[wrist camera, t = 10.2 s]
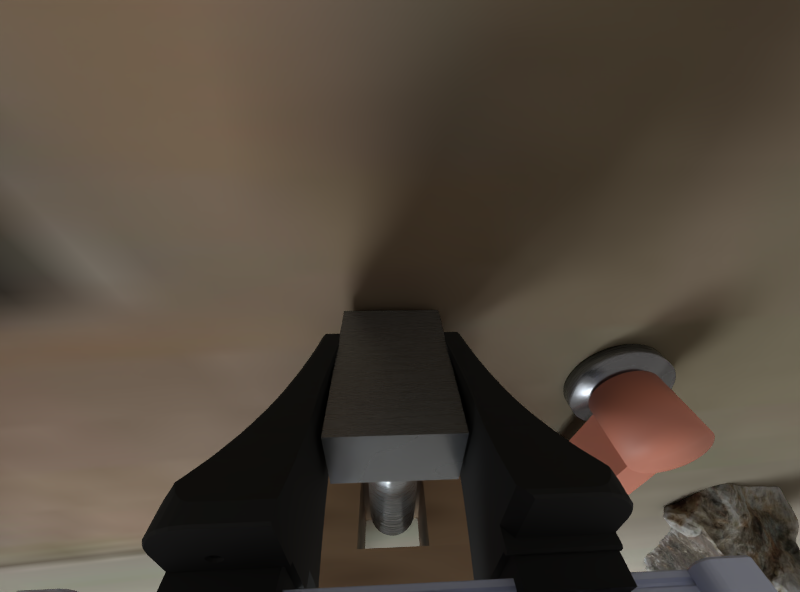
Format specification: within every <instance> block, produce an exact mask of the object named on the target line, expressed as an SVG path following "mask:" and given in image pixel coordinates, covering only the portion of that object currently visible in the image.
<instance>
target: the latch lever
mask: <svg viewBox="0 0 800 592" xmlns="http://www.w3.org/2000/svg"><path fill="white" fill-rule="evenodd" d="M588 405H589V409H590V410H591V412H592V413H593V415H592V416H591V417H590V418H589V419H588V420H587V421H586V423H585V424H584V425H583V426H582V427H581V428H580V429H579V430H578V431H577V433H576V434H575V435H574V436H573V437H572V438H571V439H570V440H569V441H570V442H571V443H572V444H574V445H575V446H577V447H578V448H580V449H582V450H583V451H585V452H587V453H588V454H590V455H592V456H593V457H595V458H597V459H598V460H600V461H601V462H603V463H605V464H606V465H608V466H609V467H610V468H611V469H612V471H613V472H614V474H615V475H616V476H617V478H618V479H619V481H620V482H621V484H622V486H623V487H624V489H625V491H626V493H627V494H628V495H629V494H630V493H631V492H633V491H634V490H635V489H637V488H638V487H639V486H640V485H642V484H643V483H644V482H645V481H647V480H648V479H649V478H650V477H652V476H653V475H654V474H656V473H658V472H664V471H669V470H672V469H675V468H679V467H681V466H684V465H686V464H688V463H690V462H692V461H694V460H696V459H697V458H699V457H700V456H702V455H703V454H704V453H706V452H707V451H708V450H709V449H710V447H711V446H712V444H713V443H714V439H715V436H714V433H713V432H712V431H711V430H710V429H709V428H708V427H707V426H706V425H705V424H704V423H703V422H702V421H701V420H700V419H699V418H698V417H697V415H696V414H695V413H694V412H693V411H692V410H691V409H690V408H689V407H688V406H687V405H686V404H685V403H684V402H683V401H682V400H681V399H680V398H679V397H678V396H677V395H676V394H675V393H674V392H673V391H672V390H671V389H670V388H669V387H668V386H667V385H666V384H665V383H664V382H663V381H662V380H661V379H660V377H658V376H657V375H656V374H654V373H652V372H649V371H631V372H626V373H623V374H620V375H617V376H615V377H612V378H610V379H609V380H607V381H605V382H604V383H602V384H601V385H600V386H599V387H597V388H596V389H595V390H594V392H593V393H592V394H591V396H590V399H589V402H588Z"/></svg>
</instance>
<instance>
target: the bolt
mask: <svg viewBox="0 0 800 592" xmlns="http://www.w3.org/2000/svg"><path fill="white" fill-rule="evenodd" d="M339 338H340V340H339V345H338V350H337V353H336V359H335V364H334V370H333V375H332V380H331V386H330V391H329V397H328V402H327V407H326V413H325V418H324V424H323V429H322V435H321V440H322V445H323V450H324V455H325V460H326V465H327V469H328V474H329V479H330V484H340V483H367V482H368V485H369V498H370V511H371V518H372V521H373V523H374V525H375V527H376V528H377V529H378V530H379V531H380V532H382V533H384V534H386V535H398V534H401V533H403V532H404V531H405V530H407V529H408V527H409V526H410V525H411V523H412V521H413V518H414V511H415V499H416V487H417V481H421V480H448V479H459V476H460V471H461V467H462V462H463V458H464V453H465V449H466V444H467V440H468V435H469V431H468V427H467V423H466V419H465V415H464V411H463V407H462V403H461V399H460V395H459V391H458V387H457V383H456V379H455V375H454V371H453V367H452V363H451V359H450V355H449V351H448V348H447V345H446V341H445V335H444V331H443V327H442V323H441V319H440V315H439V311H438V310H399V311H344V315H343V321H342V326H341V332H340V337H339Z"/></svg>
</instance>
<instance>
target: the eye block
mask: <svg viewBox="0 0 800 592" xmlns="http://www.w3.org/2000/svg"><path fill="white" fill-rule="evenodd" d="M414 518H418V529H419V542H420V546H416V547H395V548H373V549H365V531H366V520H372V518H371V511H370V498H369V485H368V482H367V483H340V484H330V479H329V477H328V486H327V496H326V506H325V516H324V527H323V538H322V550H321V563H320V575H319V588H332V587H352V586H371V585H391V584H411V583H430V582H450V581H470V580H474V577H473V568H472V560H471V551H470V543H469V535H468V527H467V520H466V512H465V505H464V498H463V491H462V485H461V480H460V476H459V479H448V480H421V481H417V487H416V499H415V511H414Z"/></svg>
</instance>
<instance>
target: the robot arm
mask: <svg viewBox="0 0 800 592" xmlns="http://www.w3.org/2000/svg"><path fill="white" fill-rule="evenodd" d="M444 335H445V341H446V345H447V348H448V351H449V355H450V359H451V363H452V367H453V371H454V375H455V379H456V383H457V387H458V391H459V395H460V399H461V403H462V407H463V411H464V415H465V419H466V423H467V427H468V431H469V435H468V440H467V444H466V449H465V453H464V458H463V462H462V467H461V471H460V477H461V484H462V491H463V498H464V505H465V512H466V520H467V527H468V535H469V543H470V551H471V560H472V568H473V577H474V580H470V581H450V582H430V583H411V584H391V585H371V586H352V587H332V588H319V575H320V563H321V550H322V538H323V527H324V516H325V506H326V496H327V486H328V477H329V474H328V469H327V465H326V460H325V455H324V450H323V445H322V440H321V435H322V429H323V424H324V418H325V413H326V407H327V402H328V397H329V391H330V386H331V380H332V375H333V370H334V364H335V359H336V353H337V350H338V345H339V340H340V338H339V337H340V334H326V335H325V336H323V338H322V340H321V342H320V343H319V345H318V346H317V348H316V349H315V351H314V352H313V354H312V355H311V357H310V358H309V360H308V361H307V362H306V364H305V365H304V366H303V368H302V369H301V371H300V372H299V373H298V374H297V376H296V377H295V378H294V379H293V381H292V382H291V383H290V384H289V385H288V387H287V388H286V389H285V390H284V391H283V393H282V394H281V395H280V396H279V397H278V398H277V399H276V400H275V401H274V402H273V403H272V404H271V405H270V407H269V408H268V409H267V410H266V411H265V412H264V413H263V414H261V415H260V416H259V417H258V418H257V419H256V420H255V421H254V422H253V423H252V424H251V425H250V426H249V427H248V428H246V429H245V430H244V431H243V432H242V433H241V434H240V435H238V436H237V437H236V438H235V439H233V440H232V441H231V442H230V443H228V444H227V445H226V446H225V447H224V448H222V449H221V450H220V451H219V452H217V453H216V454H215V455H213V456H212V457H211V458H209V459H208V460H207V461H205V462H204V463H202V464H201V465H200V466H198V467H197V468H195V469H194V470H192V471H191V472H190V473H188V474H187V475H185V476H184V477H182V478H181V479H179V480H178V481H176V482H175V483H174V485H173V487H172V488H171V490H170V491H169V493H168V494H167V496H166V497H165V499H164V501H163V502H162V504H161V506H160V507H159V509H158V511H157V513H156V515H155V517H154V519H153V520H152V522H151V524H150V526H149V528H148V530H147V532H146V533H145V535H144V537H143V539H142V547H143V549H144V551H145V552H146V554H147V555H148V556H149V557H150V558H151V559H153V560H154V561H155V562H156V563H157V564H158V565H159V566H160V567H161V568H162V569H163V570H164V571H166V573H165V575H164V577H163V580H162V582H161V584H160V586H159V588H158V590H157V592H778V591H777V590H776V588H775V587H774V586H773V585H772V583H771V582H770V581H769V579H768V578H767V577H766V576H765V574H764V573H763V572H762V571H761V569H760V568H759V567H758V566H757V564H756V563H755V562H754V561H753V559H752V558H751V557H749V556H747V555H737V556H717V557H707V558H703V559H700V560H698V561H696V562H694V563H693V564H691V565H690V566H689V568H688V569H686V570H666V571H647V572H630V571H629V569H628V567H627V565H626V563H625V561H624V559H623V557H622V555H621V553H620V551H621V550H622V549H623V545H622V543H621V541H620V539H619V537H618V536H617V534H616V531H617V530H618V529H619V528H620V527H621V526H622V524H623V523H624V522H625V521H626V520H627V519H628V518H629V516H630V515H631V513H632V510H633V502H632V501H631V499H630V497H629V496H628V494H627V493H626V491H625V489H624V487H623V486H622V484H621V482H620V481H619V479H618V478H617V476H616V475H615V474H614V472H613V471H612V469H611V468H610V467H609V466H608V465H606V464H605V463H603V462H601V461H600V460H598V459H597V458H595V457H593V456H592V455H590V454H588V453H587V452H585V451H583V450H582V449H580V448H578V447H577V446H575V445H574V444H572V443H571V442H570V441H568V440H567V439H565V438H564V437H562V436H561V435H559V434H558V433H556V432H555V431H554V430H552V429H551V428H550V427H548V426H547V425H546V424H545V423H543V422H542V421H541V420H539V419H538V418H537V417H536V416H534V415H533V414H532V413H530V412H529V411H528V410H527V409H526V408H525V407H523V406H522V405H521V404H520V403H519V402H518V401H517V400H516V399H515V398H514V397H512V396H511V395H510V394H509V393H508V392H507V391H506V390H505V389H504V388H503V387H502V386H501V385H500V383H499V382H498V381H497V380H496V379H495V378H494V377H493V376H492V375H491V374H490V373H489V371H488V370H487V369H486V368H485V367H484V365H483V364H482V363H481V362H480V361H479V360H478V358H477V357H476V356H475V354H474V353H473V352H472V351H471V349H470V348H469V347H468V345H467V344H466V343H465V341H464V340H463V338H462V337H461V336H460V334H459V333H458V332H444ZM17 592H77V591H74V590H69V589H45V590H25V591H17Z"/></svg>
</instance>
